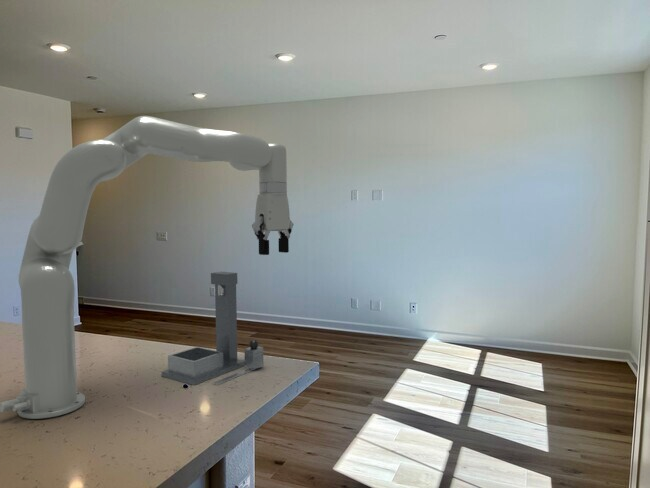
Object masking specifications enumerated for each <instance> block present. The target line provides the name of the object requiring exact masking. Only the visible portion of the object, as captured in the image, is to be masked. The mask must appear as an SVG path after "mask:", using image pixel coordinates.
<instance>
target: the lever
mask: <svg viewBox="0 0 650 488" xmlns="http://www.w3.org/2000/svg"><path fill="white" fill-rule="evenodd" d="M248 345H249V347H246V348H244V361H245V366H244V368H245V369H253V371H255V370H257V369H256V368H258V369H260V368H261V367H264V346H259V341H258V340H257V339H251V340H250V341H249V344H248ZM259 367H260V368H259ZM254 369H255V370H254Z"/></svg>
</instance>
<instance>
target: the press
mask: <svg viewBox="0 0 650 488" xmlns="http://www.w3.org/2000/svg"><path fill="white" fill-rule="evenodd" d="M210 285H214V294H215V295H214V297H215V298H214V299H215V301H214V302H215V305H214V306H215V347H216V348H215V349H210V348H205V347H201V346H195V347H191V348H189V349H185V350H182V351H178V352H176V353H173V354H169V355H167V365H168V366H167V369H165V370H163V371H161V377H163V378H167V379H169V380H170V379H171V380H174V381H177V382H182V383H185V384H188V385H192V386H196V385H198V384H200V383H203V382H206V381H208V380H212V379H214V378H216V377H218V376H219V377H220V376H221V375H224V374H228V373H229V372H232V371H235V370H237V369H239V368H242V367H245V359H238V325H237V324H238V321H237V319H238V317H237V314H238V313H237V309H238V308H237V307H238V306H237V285H238V272H233V271H232V272H229V271H218V272H217V271H216V272H211V273H210ZM260 368H261V367H259V368H256V369H254V370H253V369H248V368H245V369H244V370H241V371H239V372H236V373H234V374H231V375H229V376H227V377H224V378H222V379H221V378H220V379H219V380H217V381H213V385H215V386H218V385H220V384H223V383H225V382H228V381H230V380H234V379H236V378H238V377H241V376H243V375H246V374H247V373H250V372H253V371H255V370H258V369H260Z"/></svg>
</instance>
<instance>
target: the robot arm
mask: <svg viewBox="0 0 650 488" xmlns="http://www.w3.org/2000/svg"><path fill="white" fill-rule="evenodd" d="M148 154H150V155H156V156H161V157H167V158H171V159H177V160H181V161H182V160H183V161H187V162H194V163H207V162H208V163H209V162H228V163H229V165H230V166H231V167H232V168H234V169H236V170H238V171H243V172H245V171H246V172H247V171H255V170H256V171H257V170H258V179H259V180H258V181H259V185H258V187H259V193H258V195H257V198H256V202H255V211H254V212H255V213H254V214H255V215H254V221H253V223H252V224H251V228H252V230H253V231H254V235H255V236H256V240H257V241H258V254H259V255H260V256H269V255H270V240H269V239H268V238H269V236H270V233H271V232H277V233H278V235H279V238H278V252H279V253H284V254H285V253H289V251H290V249H289V248H290V247H289V239H290V238H291V233H292V229H293V227H294V222H293V221H292V220H291V219H290V218H291V217H290V216H291V215H290V205H289V198H288V190H287V189H288V186H287V185H288V182H287V178H288V176H287V171H288V169H287V168H288V167H287V166H288V165H287V148H286V146H285V145H283V144H281V143H268V142H267V141H266V140H264V139H262V138H260V137H258V136H255V135H249V134H246V133H241V132H236V131H231V130H230V131H229V130H221V129H213V128H209V127H207V128H205V127H198V126H194V125H190V124H186V123H180V122H176V121H172V120H168V119H163V118H159V117H155V116H150V115H140V116H136V117H135V118H133V119H131V120H130V121H128V122H127V123H126V124H124V125H123V126H121V127H120V128H118V129H117V130H116V131H115V130H114V131H113V132H112V133H110V134H109V135H107V136H105V137H103V138H102V139H93V140H89V141H86V142H83V143H80V144H77V145H76V146H74V147H72V148H71V149H70V150H68V151H67V152H66V153H65V154H64V155H63V156H62V157H61V158H60V159H59V160H58V161H57V163H56V164H55V166H54V168H53V171H52V172H51V175H50V178H49V181H48V185H47V188H46V191H45V194H44V198H43V202H42V204H41V208H40V212H39V215H38V216H36V218H35V219H34V220H33V222H32V224H31V225H30V229H29V232H28V235H27V239H26V244H25V247H24V252H23V256H22V260H21V264H20V269H19V274H18V285H19V288H20V298H21V326H22V327H21V328H22V329H21V330H22V345H23V347H22V348H23V365H24V366H23V367H24V368H23V369H24V388H25V389H23V390H20V391H19V395H17V396H15V398H14V399H8V400H5V401H2V402H0V413H5V412H8V411H10V410H11V411H12V412H17V415H18V416H19V417H20V418H24V419H27V420H28V419H31V420H36V419H37V420H39V419H49V418H56V417H59V416H63V415H66V414H69V413H71V412H74V411H76V410H79V409H80V408H81V407H83V405H84V404H85V403H86V396H85V394H84V393H82V392H78V386H77V383H78V382H77V359H76V356H77V355H76V335H75V334H76V333H75V291H76V289H75V281H74V277H73V275H72V273H71V271H70V265H71V262H72V261H71V260H72V257H73V253H74V251H75V250H76V249H77V248H78V247H79V246H80V245H81V242H82V239H83V234H84V233H83V232H84V228H85V224H86V218H87V215H88V210H89V205H90V203H91V199H92V196H93V193H94V191H95V189H96V187H97V186H98V185H99V184H100V182H101V183H102V182H107V181H110V180H112V179H114V178H117V177H118V176H120V175H121V174H123V172H124V170H125V169H127V168H129V167H130V166H131V165H133V164H134V163H136V162H137V161H140V159H142V158H144V157H145V156H146V155H148Z"/></svg>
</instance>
